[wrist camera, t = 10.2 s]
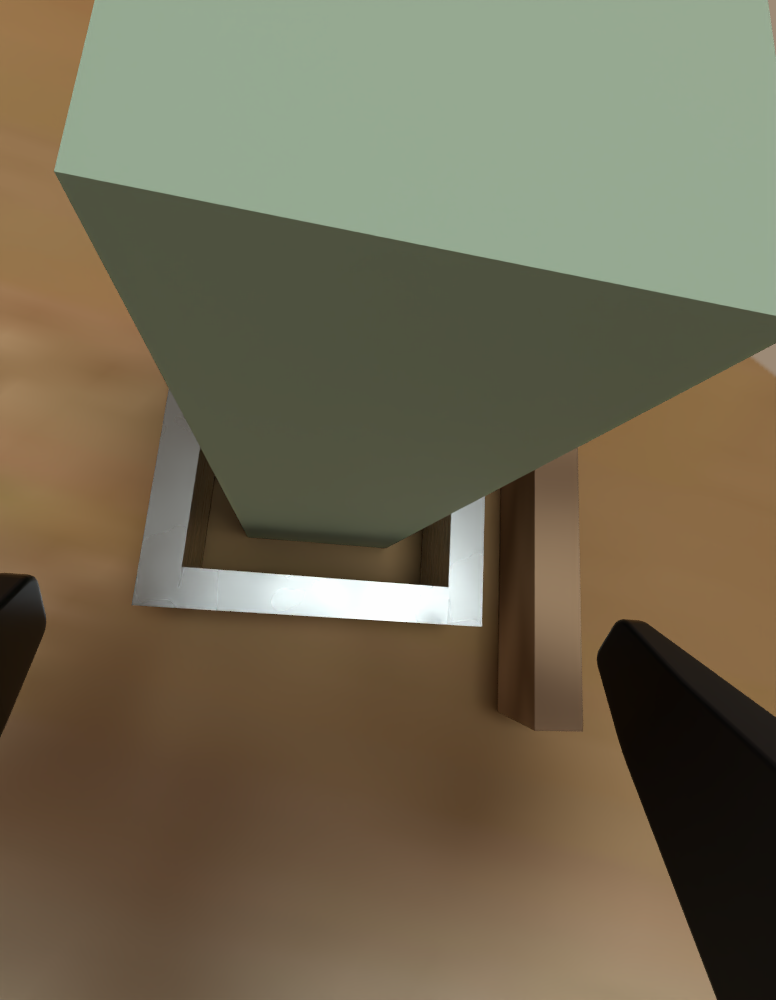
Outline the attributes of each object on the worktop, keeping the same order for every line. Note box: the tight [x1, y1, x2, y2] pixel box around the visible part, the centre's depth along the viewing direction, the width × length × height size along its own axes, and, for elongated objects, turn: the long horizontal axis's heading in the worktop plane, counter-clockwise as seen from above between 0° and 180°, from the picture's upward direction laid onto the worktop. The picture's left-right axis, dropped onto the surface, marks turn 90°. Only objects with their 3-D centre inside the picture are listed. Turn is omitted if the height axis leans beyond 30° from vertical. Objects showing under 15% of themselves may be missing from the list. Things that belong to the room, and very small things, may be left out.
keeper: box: [132, 389, 485, 627], centre depth 15 cm, size 9×9×3 cm
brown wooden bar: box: [498, 447, 583, 732], centre depth 17 cm, size 14×2×2 cm, turn 176°
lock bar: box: [54, 0, 776, 548], centre depth 10 cm, size 4×4×14 cm
